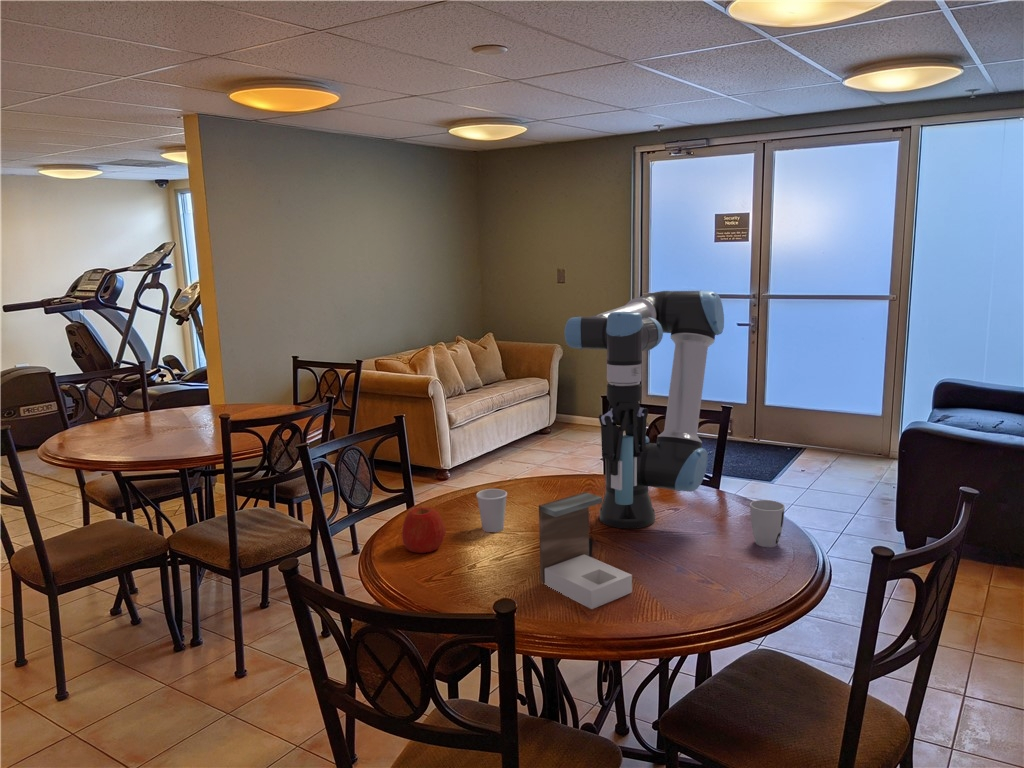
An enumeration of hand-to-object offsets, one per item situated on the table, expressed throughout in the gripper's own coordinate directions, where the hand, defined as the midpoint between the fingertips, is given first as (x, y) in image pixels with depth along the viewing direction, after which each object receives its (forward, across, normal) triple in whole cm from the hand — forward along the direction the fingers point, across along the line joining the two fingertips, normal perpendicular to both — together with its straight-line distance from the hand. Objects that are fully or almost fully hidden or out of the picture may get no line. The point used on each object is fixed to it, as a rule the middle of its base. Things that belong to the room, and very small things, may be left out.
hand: (623, 486), depth 164 cm
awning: (+21, -10, +7) cm, 24 cm away
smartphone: (+22, +2, +18) cm, 28 cm away
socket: (+21, -11, +1) cm, 24 cm away
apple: (+22, -25, +45) cm, 56 cm away
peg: (+4, 0, 0) cm, 4 cm away
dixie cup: (+21, -4, +44) cm, 49 cm away
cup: (+21, +40, -10) cm, 46 cm away
